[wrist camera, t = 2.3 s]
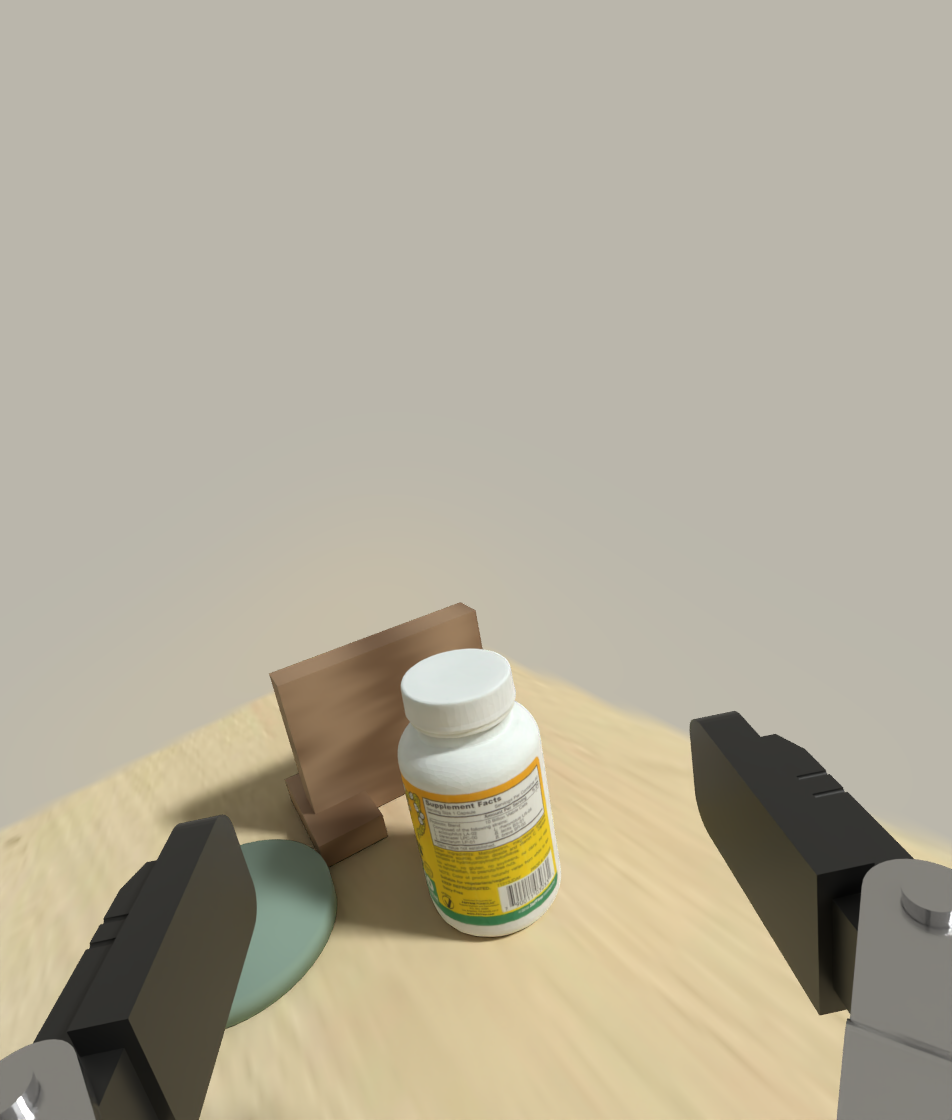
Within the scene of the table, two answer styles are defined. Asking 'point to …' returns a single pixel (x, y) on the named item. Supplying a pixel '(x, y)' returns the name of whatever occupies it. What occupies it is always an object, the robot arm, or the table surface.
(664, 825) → the table surface
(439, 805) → the supplement bottle
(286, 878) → the pad
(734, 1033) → the table surface
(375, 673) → the divider
